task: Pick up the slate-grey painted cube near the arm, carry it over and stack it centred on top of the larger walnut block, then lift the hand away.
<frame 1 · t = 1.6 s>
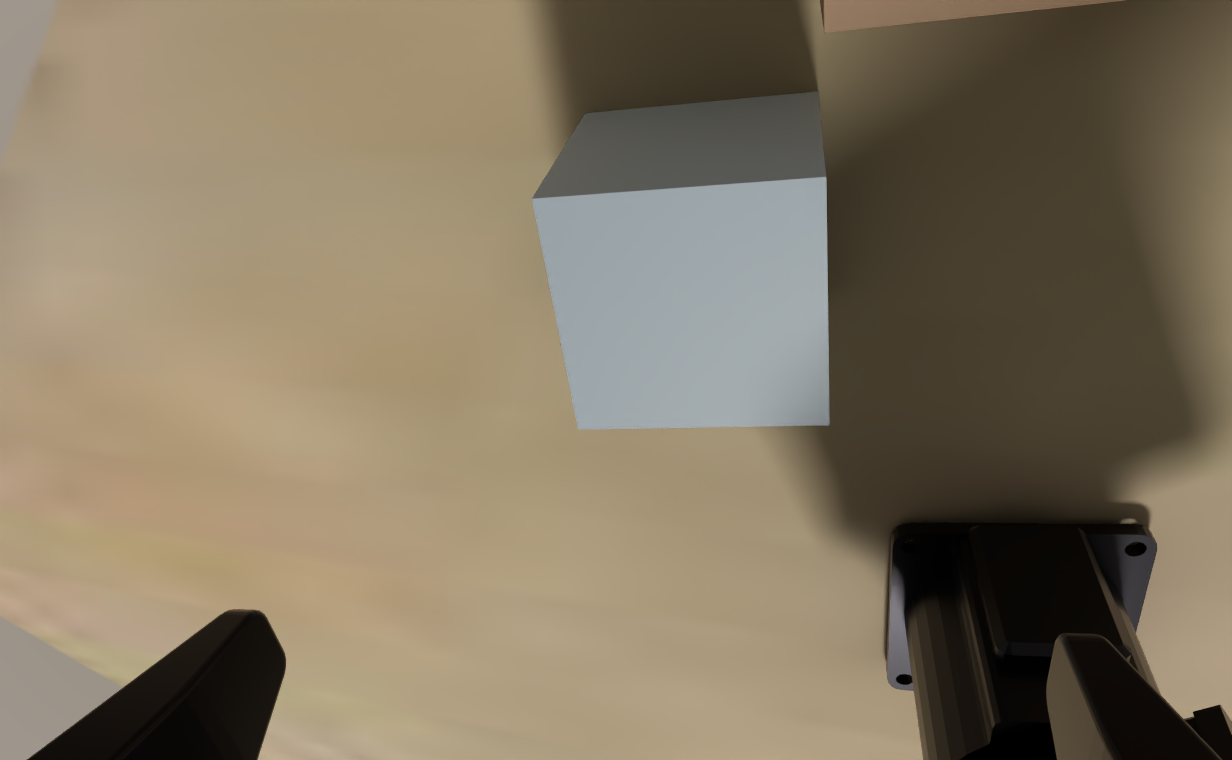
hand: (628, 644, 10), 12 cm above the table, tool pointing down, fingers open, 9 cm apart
slate cube: (708, 210, 20), on the table
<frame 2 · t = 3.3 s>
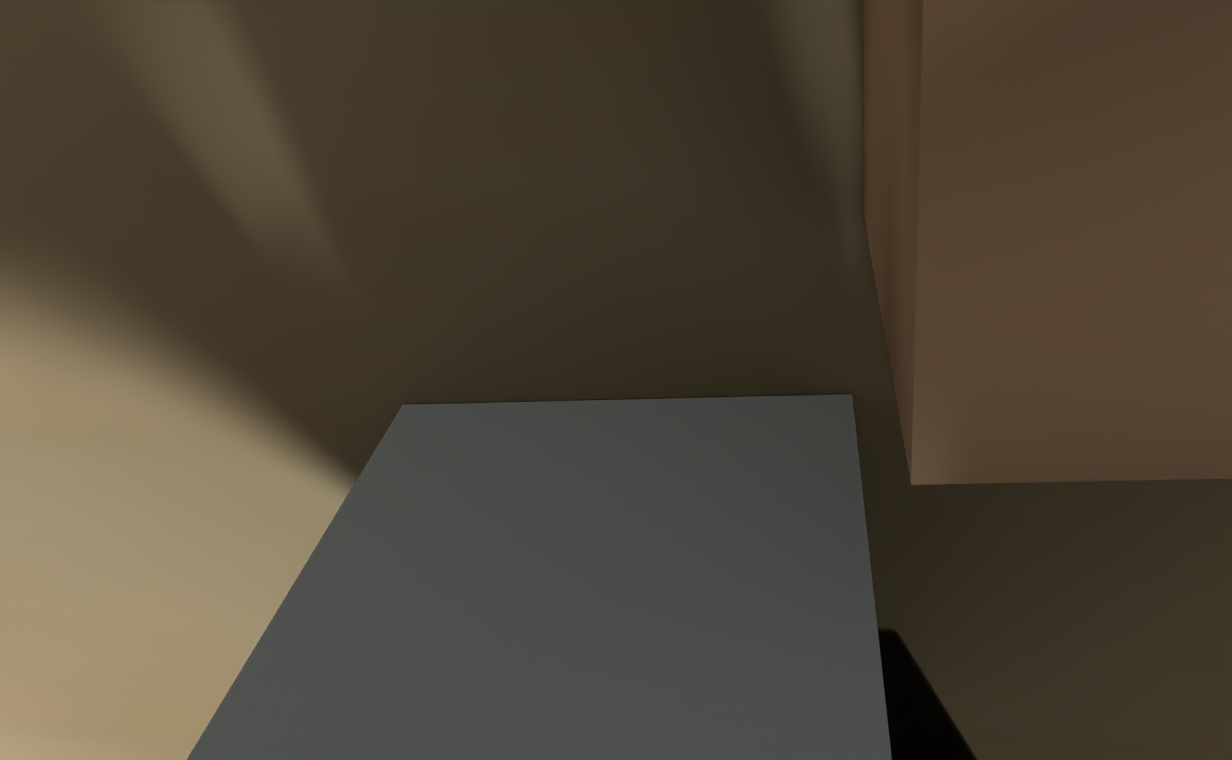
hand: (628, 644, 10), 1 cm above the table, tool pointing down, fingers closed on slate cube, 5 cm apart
slate cube: (642, 564, 11), on the table, touching gripper
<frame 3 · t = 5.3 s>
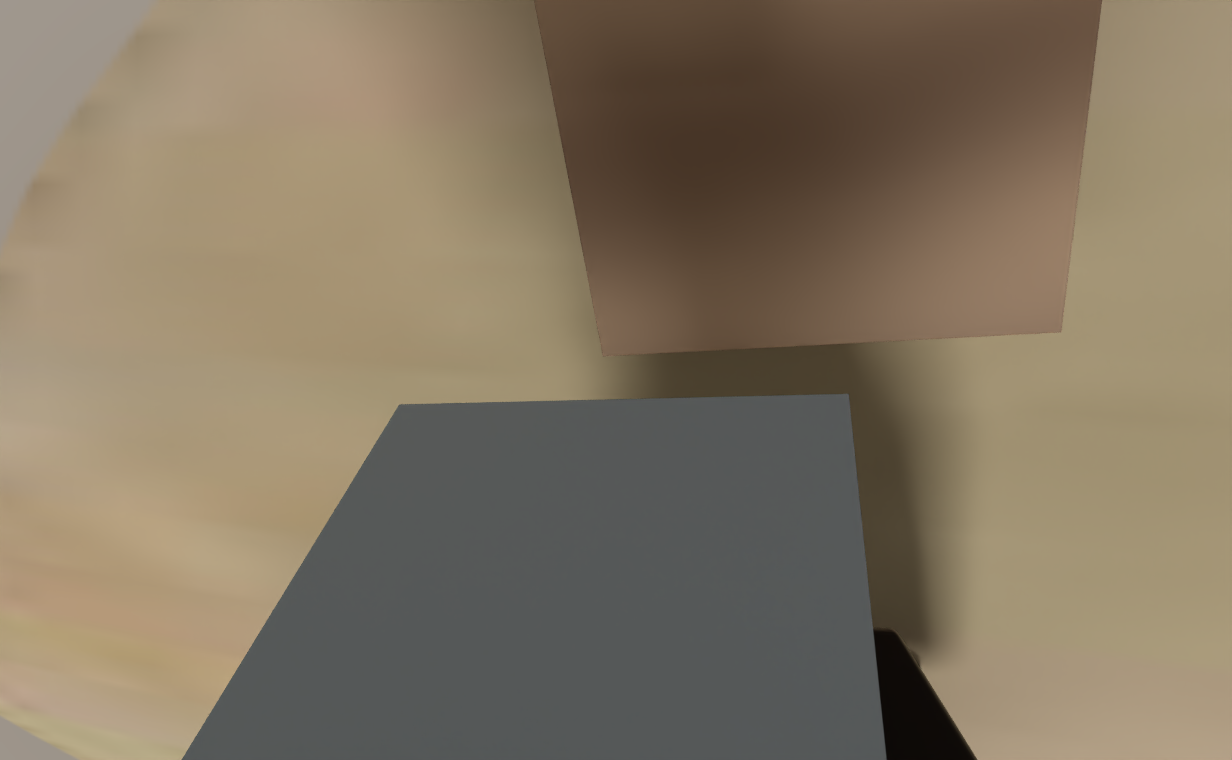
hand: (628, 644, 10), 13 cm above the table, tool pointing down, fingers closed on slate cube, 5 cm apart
slate cube: (640, 563, 11), point 12 cm above the table, touching gripper
walnut block: (806, 66, 19), on the table
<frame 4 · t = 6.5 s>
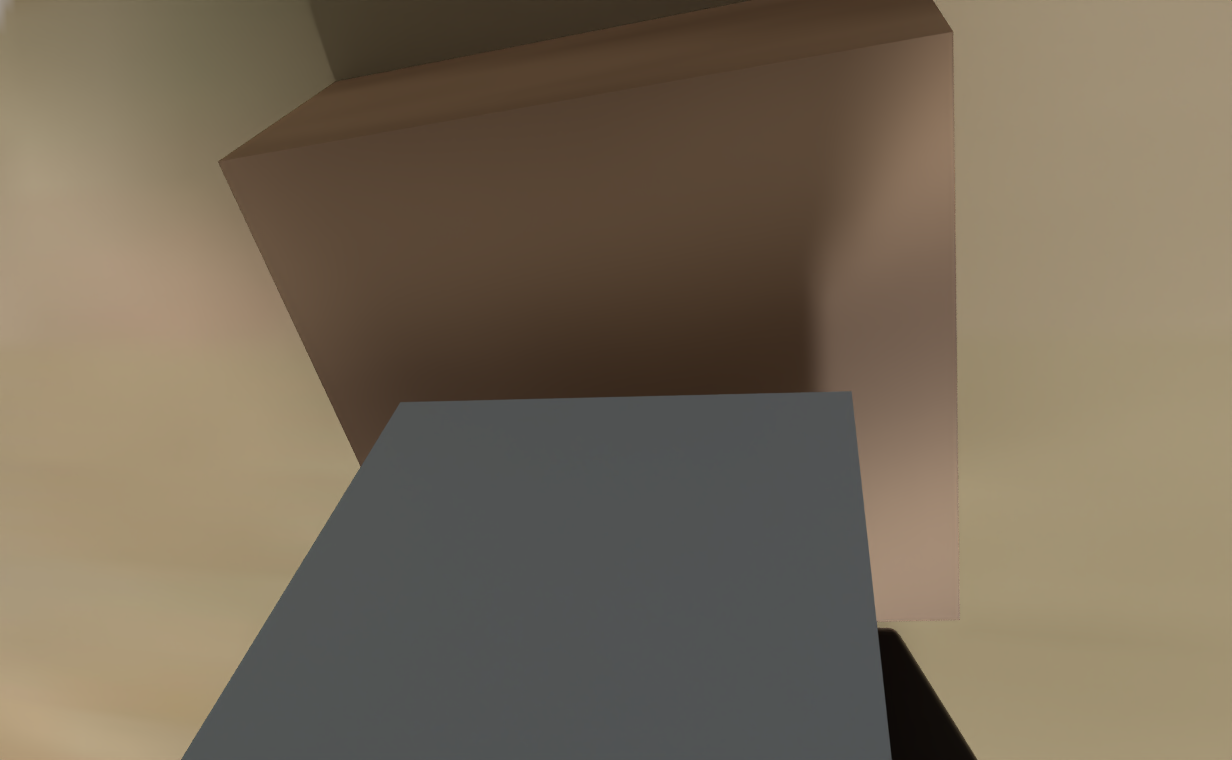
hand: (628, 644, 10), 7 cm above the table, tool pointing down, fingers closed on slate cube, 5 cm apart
slate cube: (641, 562, 11), point 6 cm above the table, touching gripper
walnut block: (658, 282, 16), on the table
when the fingers open (7 cm above the table, at t = 7.4 s): slate cube drops 2 cm, point 4 cm above the table.
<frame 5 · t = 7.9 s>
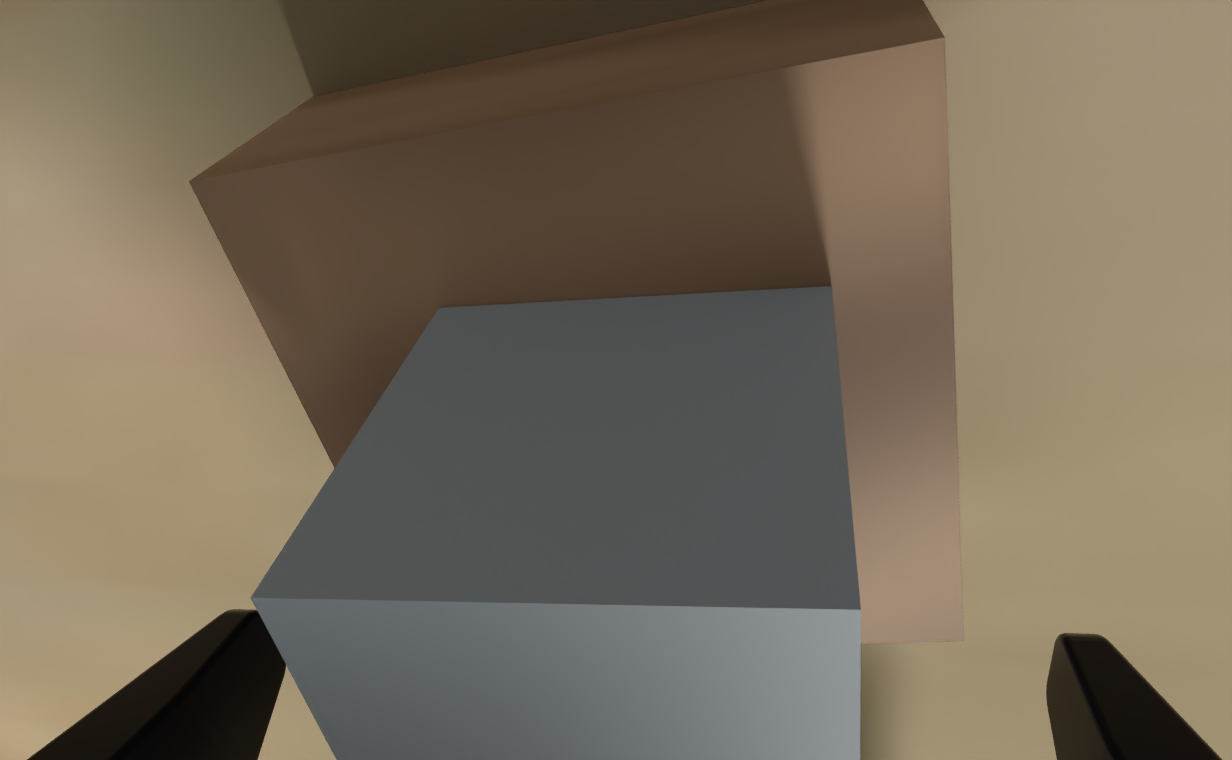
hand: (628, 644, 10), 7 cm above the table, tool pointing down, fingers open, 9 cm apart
slate cube: (650, 454, 12), point 4 cm above the table
walnut block: (650, 295, 16), on the table
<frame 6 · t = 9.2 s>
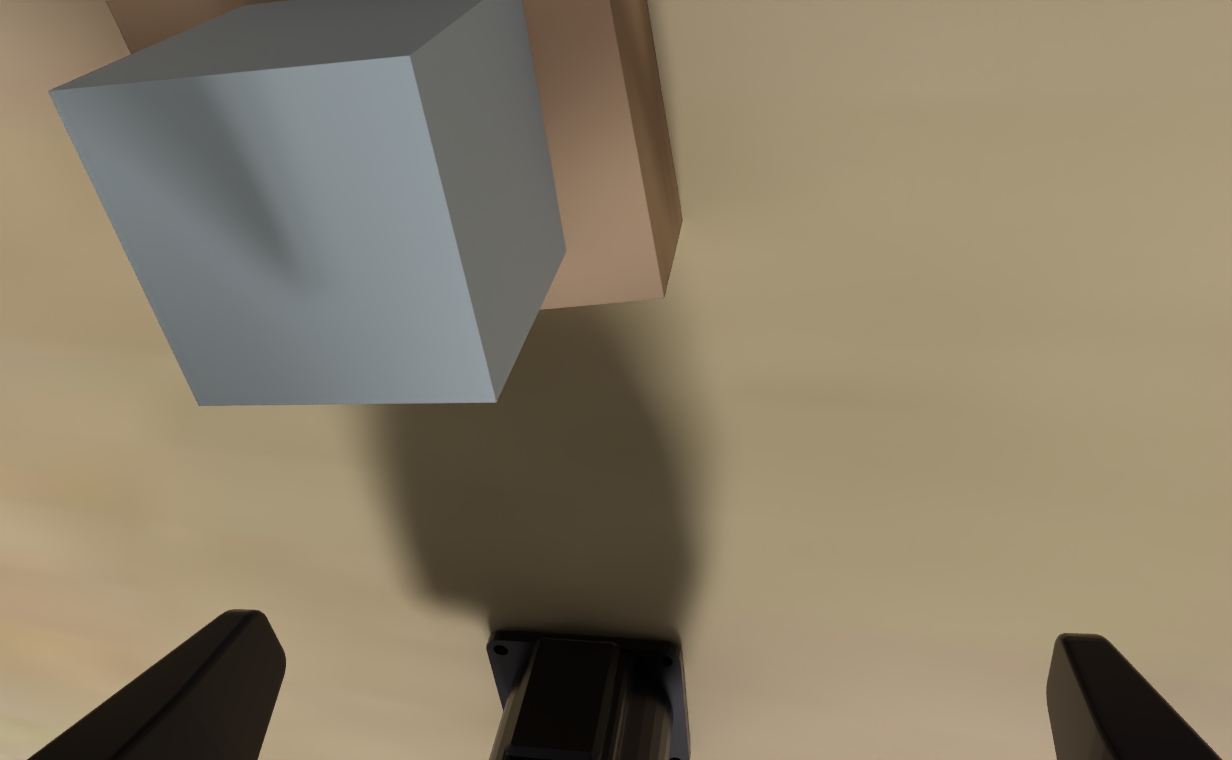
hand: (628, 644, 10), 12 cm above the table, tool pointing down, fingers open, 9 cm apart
slate cube: (413, 135, 16), point 4 cm above the table, touching walnut block
walnut block: (449, 47, 19), on the table, touching slate cube
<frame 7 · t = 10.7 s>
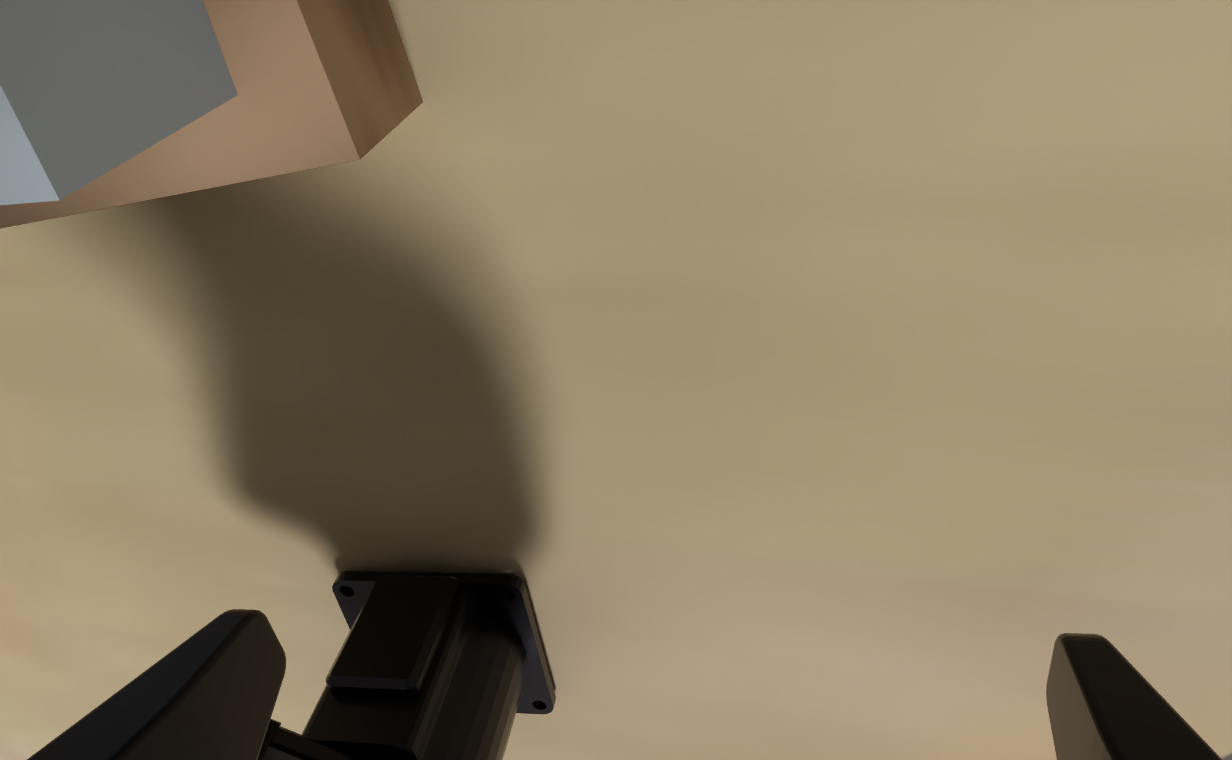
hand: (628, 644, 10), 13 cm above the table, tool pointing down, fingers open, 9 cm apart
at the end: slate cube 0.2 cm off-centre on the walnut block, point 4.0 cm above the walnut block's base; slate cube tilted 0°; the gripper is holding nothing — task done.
